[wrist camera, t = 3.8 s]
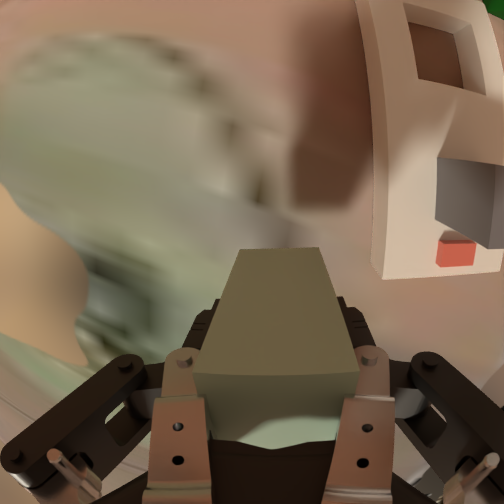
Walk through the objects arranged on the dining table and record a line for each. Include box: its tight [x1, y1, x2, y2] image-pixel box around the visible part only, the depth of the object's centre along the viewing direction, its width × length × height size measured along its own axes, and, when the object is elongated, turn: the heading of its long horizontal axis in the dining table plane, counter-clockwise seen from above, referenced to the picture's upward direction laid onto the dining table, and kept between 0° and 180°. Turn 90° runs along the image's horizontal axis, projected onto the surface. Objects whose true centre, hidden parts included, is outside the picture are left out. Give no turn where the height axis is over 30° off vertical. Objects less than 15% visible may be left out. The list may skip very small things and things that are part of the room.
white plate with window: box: [355, 0, 504, 280], centre depth 12 cm, size 22×11×9 cm, turn 3°
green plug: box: [192, 247, 360, 449], centre depth 11 cm, size 4×4×9 cm
